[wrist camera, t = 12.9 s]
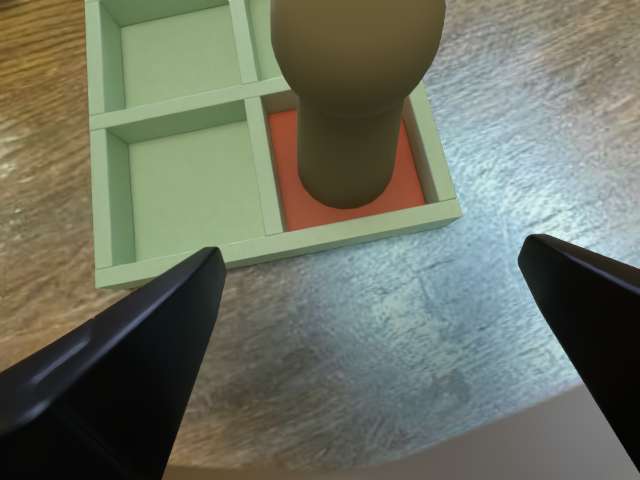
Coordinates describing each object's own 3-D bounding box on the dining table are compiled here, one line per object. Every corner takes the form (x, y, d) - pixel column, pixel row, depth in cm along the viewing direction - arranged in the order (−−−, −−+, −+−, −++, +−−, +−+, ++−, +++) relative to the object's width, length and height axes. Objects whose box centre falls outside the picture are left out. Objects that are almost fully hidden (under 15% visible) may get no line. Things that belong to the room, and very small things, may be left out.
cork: (291, 205, 18) (223, 67, 7) (302, 116, 19) (256, -123, 8) (391, 213, 17) (484, 78, 6) (396, 121, 18) (482, -125, 8)
